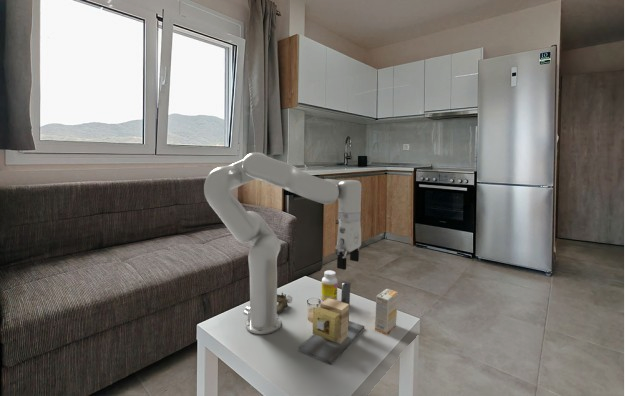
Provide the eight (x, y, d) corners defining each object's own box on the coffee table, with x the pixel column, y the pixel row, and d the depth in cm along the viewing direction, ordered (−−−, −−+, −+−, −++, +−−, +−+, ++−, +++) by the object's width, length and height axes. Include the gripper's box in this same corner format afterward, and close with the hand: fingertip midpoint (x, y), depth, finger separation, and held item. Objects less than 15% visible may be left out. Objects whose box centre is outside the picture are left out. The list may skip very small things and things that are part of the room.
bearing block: (298, 350, 102) (299, 313, 100) (335, 318, 122) (336, 287, 120) (331, 364, 96) (332, 325, 94) (364, 328, 116) (366, 295, 114)
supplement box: (384, 321, 121) (386, 288, 119) (396, 325, 118) (398, 291, 116) (373, 330, 115) (375, 295, 113) (386, 335, 112) (388, 299, 110)
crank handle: (315, 341, 102) (316, 300, 100) (342, 317, 117) (344, 280, 115) (323, 345, 100) (325, 302, 98) (350, 320, 115) (351, 282, 113)
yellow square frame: (312, 333, 105) (313, 310, 103) (317, 329, 107) (318, 306, 106) (334, 341, 100) (335, 317, 99) (338, 337, 103) (339, 313, 102)
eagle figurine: (276, 298, 135) (262, 303, 127) (286, 287, 133) (272, 290, 125) (287, 313, 131) (273, 318, 124) (297, 301, 129) (283, 305, 122)
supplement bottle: (335, 306, 132) (336, 276, 130) (319, 304, 133) (320, 274, 132) (337, 298, 139) (338, 270, 137) (322, 297, 140) (323, 268, 138)
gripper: (347, 222, 100) (346, 274, 103) (369, 213, 115) (368, 259, 117) (327, 219, 104) (326, 270, 107) (350, 211, 119) (349, 256, 121)
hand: (348, 264), depth 112 cm, fingers open, 9 cm apart
